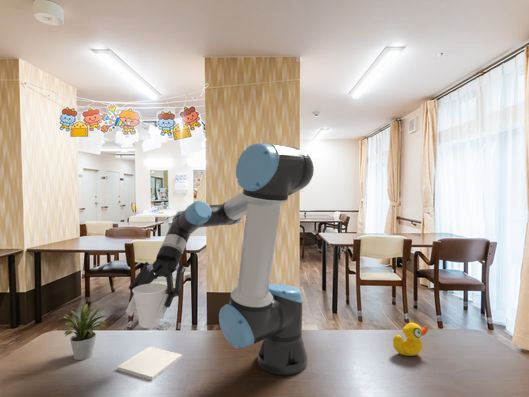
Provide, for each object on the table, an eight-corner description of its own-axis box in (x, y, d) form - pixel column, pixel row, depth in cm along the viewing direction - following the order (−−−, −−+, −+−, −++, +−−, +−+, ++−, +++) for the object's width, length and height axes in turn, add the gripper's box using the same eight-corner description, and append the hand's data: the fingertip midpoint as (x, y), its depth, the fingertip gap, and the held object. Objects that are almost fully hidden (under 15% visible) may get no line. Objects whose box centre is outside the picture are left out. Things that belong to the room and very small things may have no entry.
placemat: (182, 357, 100) (182, 354, 100) (152, 380, 88) (152, 377, 88) (149, 349, 105) (149, 346, 105) (117, 370, 93) (117, 366, 93)
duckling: (421, 349, 106) (421, 319, 106) (432, 357, 101) (432, 326, 100) (389, 351, 104) (389, 321, 104) (398, 360, 99) (399, 328, 99)
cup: (156, 333, 91) (156, 294, 90) (125, 329, 93) (124, 292, 92) (173, 319, 100) (173, 284, 100) (144, 316, 102) (144, 282, 102)
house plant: (78, 374, 91) (77, 317, 90) (43, 365, 95) (42, 311, 95) (116, 350, 104) (116, 301, 104) (84, 344, 109) (83, 296, 108)
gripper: (205, 259, 108) (183, 324, 93) (146, 255, 113) (117, 317, 98) (198, 246, 103) (173, 313, 88) (137, 243, 108) (104, 306, 93)
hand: (144, 315), depth 93 cm, fingers closed on cup, 9 cm apart
